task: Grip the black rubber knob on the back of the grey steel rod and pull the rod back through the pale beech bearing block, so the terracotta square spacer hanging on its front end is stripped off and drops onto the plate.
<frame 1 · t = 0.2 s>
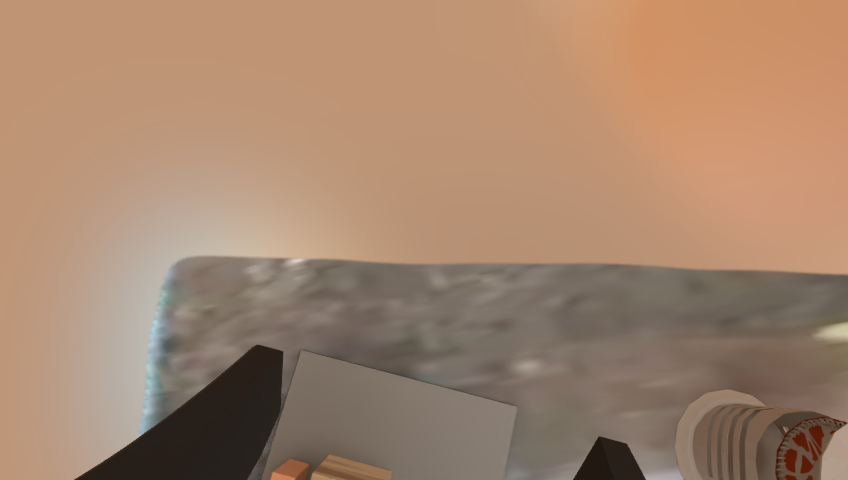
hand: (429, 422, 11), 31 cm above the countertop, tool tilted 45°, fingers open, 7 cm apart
french press: (729, 462, 40), on the countertop
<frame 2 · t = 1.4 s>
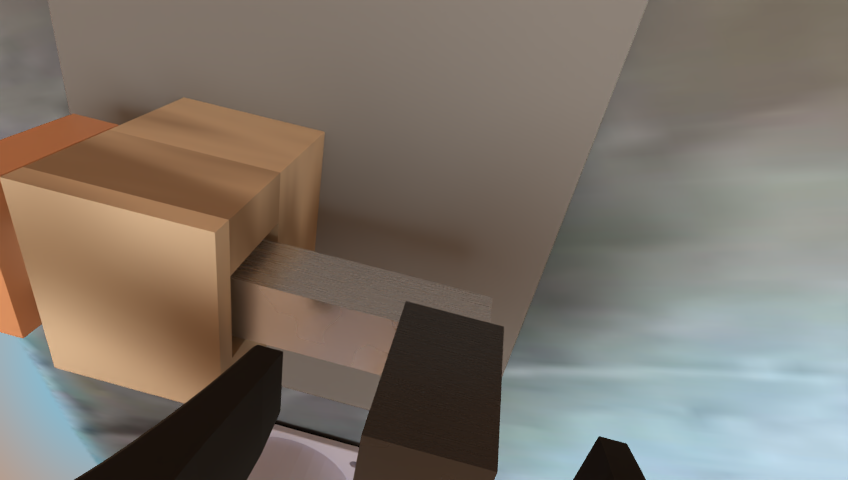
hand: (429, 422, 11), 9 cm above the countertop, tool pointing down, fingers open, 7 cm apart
shaft: (188, 322, 12), point 8 cm above the countertop, slide at 0.0 cm, touching spacer
spacer: (107, 187, 17), point 3 cm above the countertop, touching shaft
mounting plate: (314, 194, 19), on the countertop
bearing block: (253, 192, 18), resting on mounting plate
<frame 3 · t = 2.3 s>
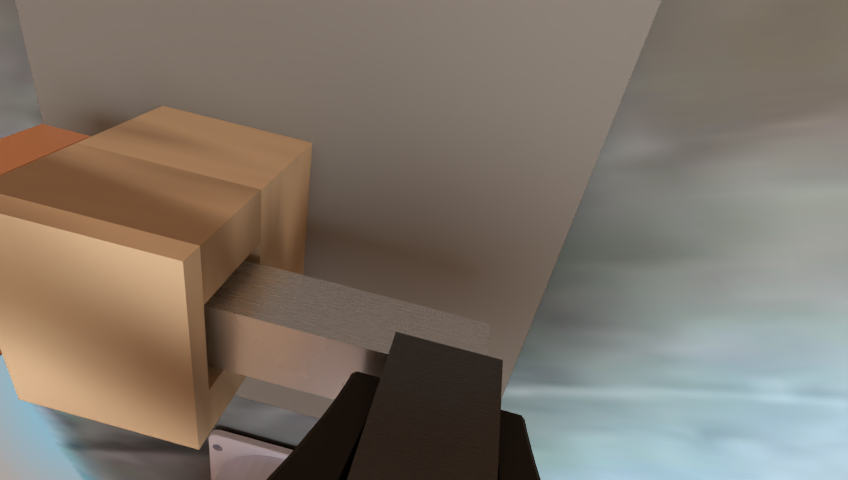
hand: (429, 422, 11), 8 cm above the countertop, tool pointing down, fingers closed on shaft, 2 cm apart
shaft: (158, 355, 11), point 8 cm above the countertop, slide at 0.0 cm, touching gripper, spacer
spacer: (80, 201, 16), point 3 cm above the countertop, touching shaft
mounting plate: (303, 207, 18), on the countertop
bearing block: (238, 206, 17), resting on mounting plate
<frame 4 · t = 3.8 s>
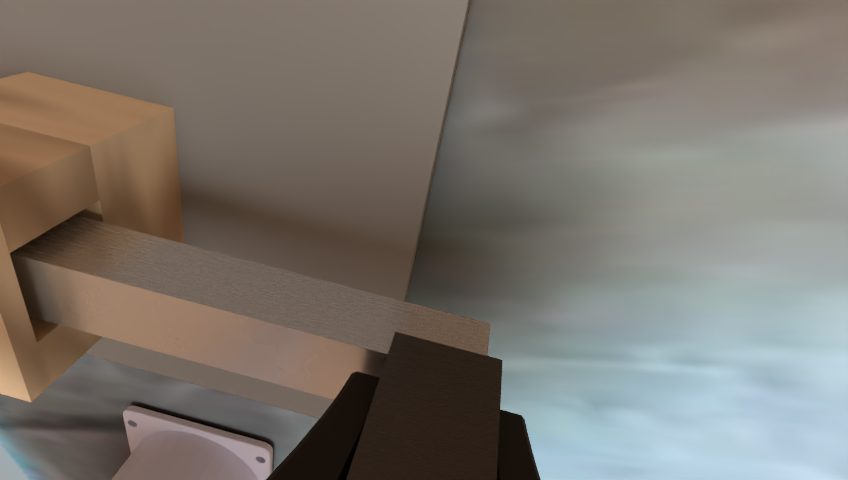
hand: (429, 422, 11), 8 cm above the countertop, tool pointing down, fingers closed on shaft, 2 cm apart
shaft: (158, 354, 11), point 8 cm above the countertop, slide at 4.6 cm, touching gripper
mounting plate: (183, 176, 18), on the countertop
bearing block: (113, 173, 17), resting on mounting plate
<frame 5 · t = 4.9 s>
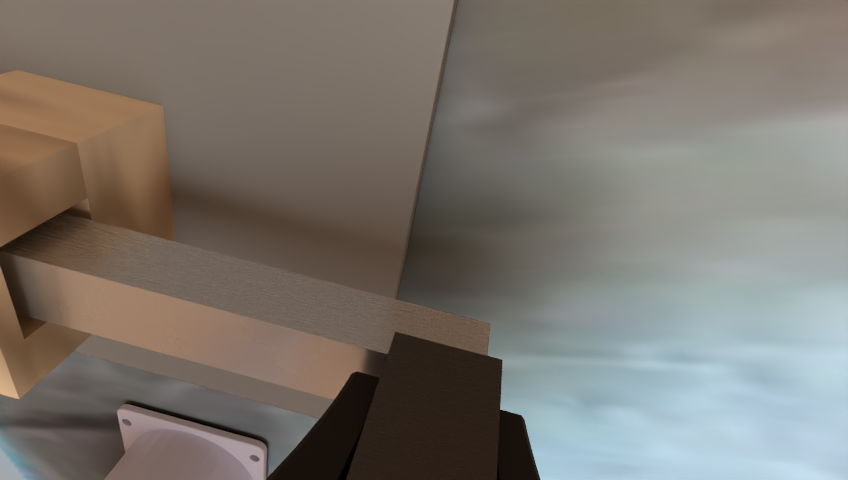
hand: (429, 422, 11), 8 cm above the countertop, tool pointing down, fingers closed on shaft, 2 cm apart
shaft: (158, 354, 11), point 8 cm above the countertop, slide at 5.0 cm, touching gripper
mounting plate: (174, 174, 18), on the countertop
bearing block: (104, 172, 17), resting on mounting plate
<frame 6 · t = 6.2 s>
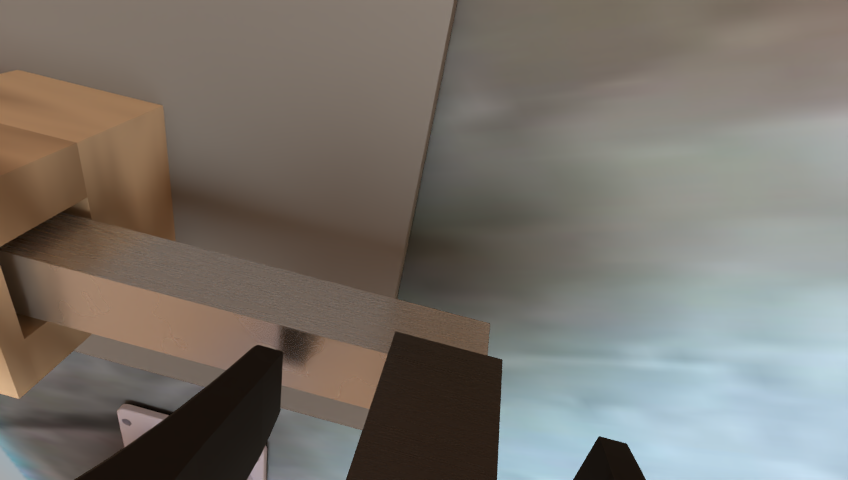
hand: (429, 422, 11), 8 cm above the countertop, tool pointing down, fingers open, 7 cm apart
shaft: (158, 354, 11), point 8 cm above the countertop, slide at 5.0 cm
mounting plate: (174, 174, 18), on the countertop
bearing block: (104, 171, 17), resting on mounting plate
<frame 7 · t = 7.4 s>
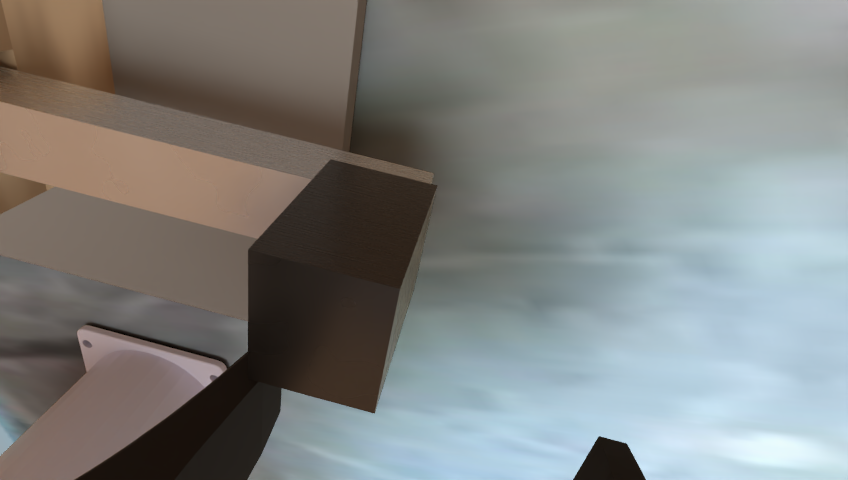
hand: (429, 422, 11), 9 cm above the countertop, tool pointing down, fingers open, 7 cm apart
shaft: (94, 183, 11), point 8 cm above the countertop, slide at 5.6 cm
mounting plate: (118, 64, 18), on the countertop
bearing block: (46, 56, 18), resting on mounting plate
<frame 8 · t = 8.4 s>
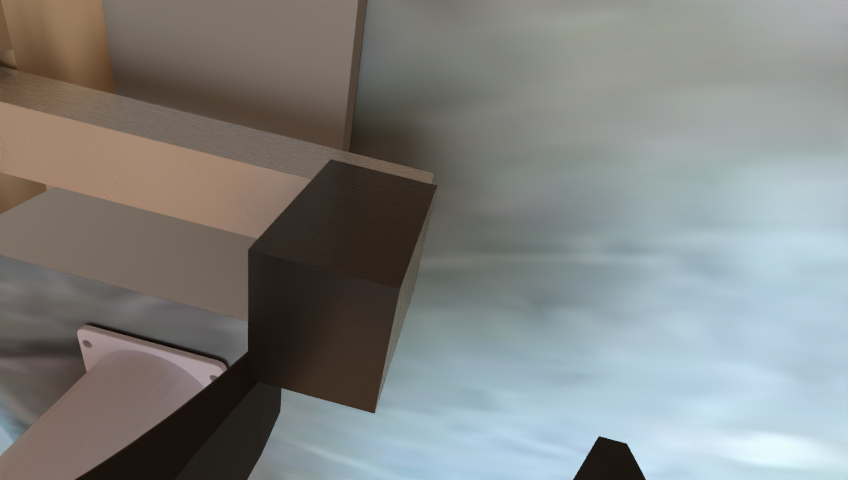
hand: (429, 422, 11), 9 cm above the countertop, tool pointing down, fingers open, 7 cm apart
shaft: (94, 183, 11), point 8 cm above the countertop, slide at 5.6 cm
mounting plate: (118, 64, 18), on the countertop
bearing block: (46, 56, 18), resting on mounting plate
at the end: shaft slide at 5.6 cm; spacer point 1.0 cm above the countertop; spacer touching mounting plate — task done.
